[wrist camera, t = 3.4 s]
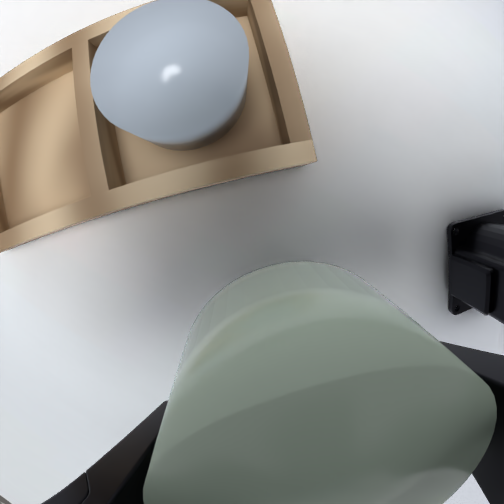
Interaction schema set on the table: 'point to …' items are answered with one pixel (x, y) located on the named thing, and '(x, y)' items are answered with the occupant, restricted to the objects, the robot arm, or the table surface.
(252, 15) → the divided wooden tray
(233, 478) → the sage green cylinder
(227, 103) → the pale blue rounded cylinder
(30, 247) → the table surface
